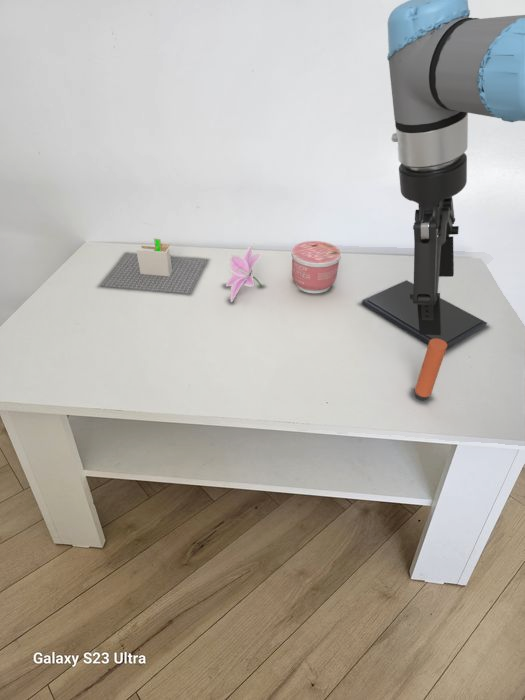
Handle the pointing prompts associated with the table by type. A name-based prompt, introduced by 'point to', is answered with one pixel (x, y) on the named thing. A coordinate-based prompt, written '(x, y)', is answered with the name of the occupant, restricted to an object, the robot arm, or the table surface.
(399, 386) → the table surface
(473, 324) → the plate
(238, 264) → the lily
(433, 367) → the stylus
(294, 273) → the container
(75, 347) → the table surface
